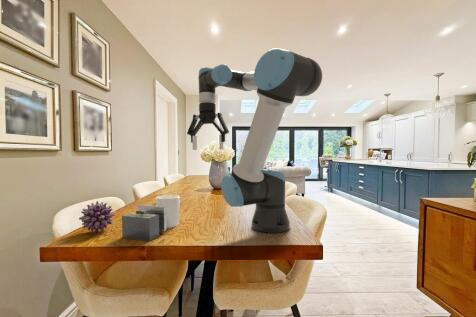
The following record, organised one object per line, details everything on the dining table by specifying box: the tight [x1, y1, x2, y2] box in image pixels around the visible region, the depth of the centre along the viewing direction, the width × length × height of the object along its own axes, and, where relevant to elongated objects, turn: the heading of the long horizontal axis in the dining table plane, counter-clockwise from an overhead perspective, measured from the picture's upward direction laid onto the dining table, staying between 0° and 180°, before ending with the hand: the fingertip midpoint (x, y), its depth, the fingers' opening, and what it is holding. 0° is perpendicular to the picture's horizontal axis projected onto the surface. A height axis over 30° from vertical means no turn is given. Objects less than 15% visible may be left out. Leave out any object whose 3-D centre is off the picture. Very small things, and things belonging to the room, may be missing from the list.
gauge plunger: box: [135, 204, 167, 232], centre depth 89 cm, size 12×7×9 cm, turn 71°
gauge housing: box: [121, 212, 160, 242], centre depth 87 cm, size 12×5×8 cm, turn 71°
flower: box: [78, 200, 116, 233], centre depth 93 cm, size 12×12×12 cm
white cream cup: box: [155, 194, 181, 229], centre depth 101 cm, size 10×10×12 cm
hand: (207, 149), depth 111 cm, fingers open, 13 cm apart
